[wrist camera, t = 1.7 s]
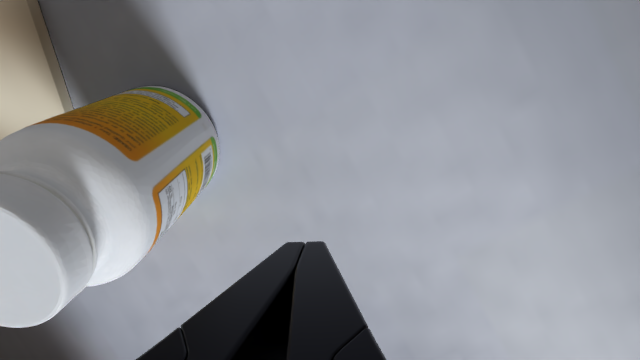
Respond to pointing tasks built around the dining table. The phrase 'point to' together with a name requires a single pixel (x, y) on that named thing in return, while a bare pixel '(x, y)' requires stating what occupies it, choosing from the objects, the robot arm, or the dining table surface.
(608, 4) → the dining table surface
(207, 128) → the supplement bottle
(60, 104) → the birch mat
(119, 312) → the dining table surface
